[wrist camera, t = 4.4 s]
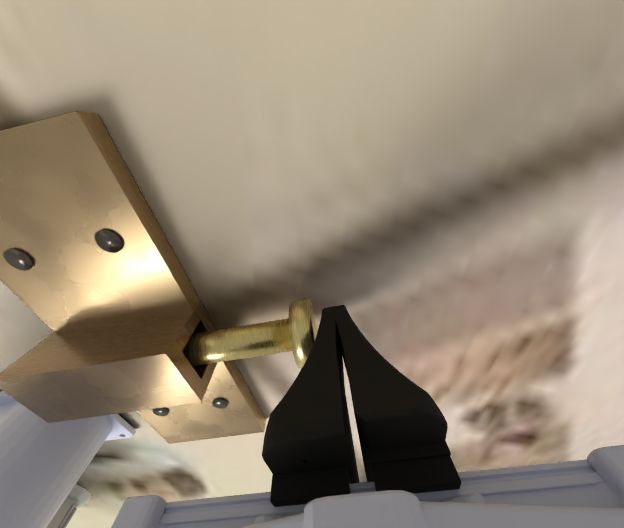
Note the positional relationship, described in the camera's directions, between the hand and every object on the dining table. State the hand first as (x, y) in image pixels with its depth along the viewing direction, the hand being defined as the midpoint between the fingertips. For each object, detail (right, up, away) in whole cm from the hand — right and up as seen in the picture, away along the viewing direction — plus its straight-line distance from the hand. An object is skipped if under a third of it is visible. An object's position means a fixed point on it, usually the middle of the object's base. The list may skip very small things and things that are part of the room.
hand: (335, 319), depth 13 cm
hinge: (-12, -2, +2) cm, 13 cm away
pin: (-6, -1, +2) cm, 7 cm away
